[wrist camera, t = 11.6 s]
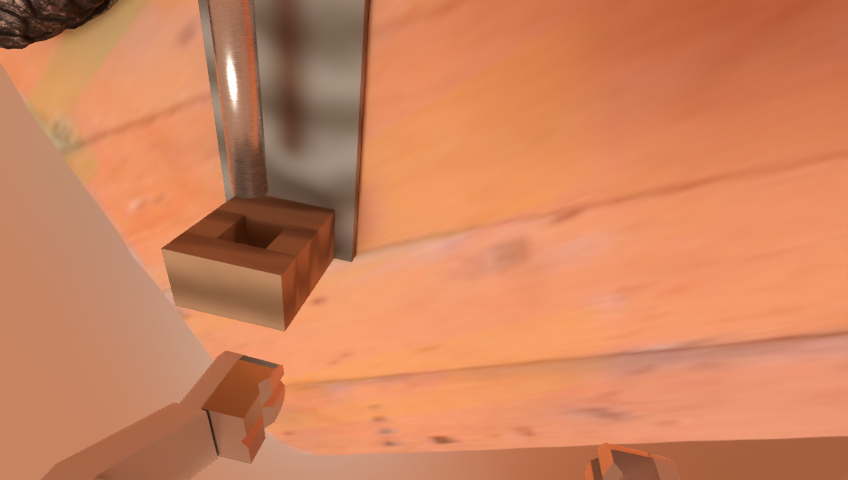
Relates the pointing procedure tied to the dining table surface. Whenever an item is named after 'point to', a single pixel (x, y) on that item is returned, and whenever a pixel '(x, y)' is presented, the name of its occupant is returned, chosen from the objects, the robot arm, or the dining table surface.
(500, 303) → the dining table surface
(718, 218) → the dining table surface
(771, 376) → the dining table surface
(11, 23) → the pine cone
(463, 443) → the dining table surface
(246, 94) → the hook rod
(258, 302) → the eye post
